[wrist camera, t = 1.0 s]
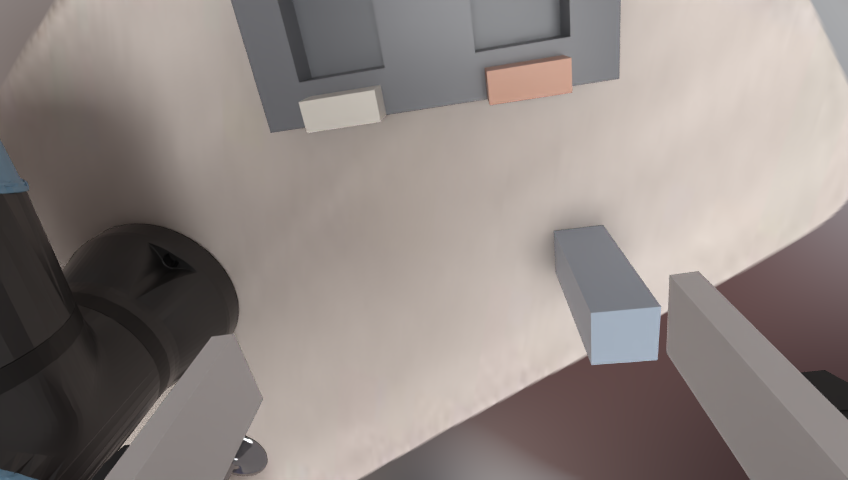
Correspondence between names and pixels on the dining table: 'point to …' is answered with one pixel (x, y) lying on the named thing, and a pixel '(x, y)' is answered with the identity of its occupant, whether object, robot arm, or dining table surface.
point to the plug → (606, 297)
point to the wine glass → (248, 459)
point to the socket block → (419, 54)
